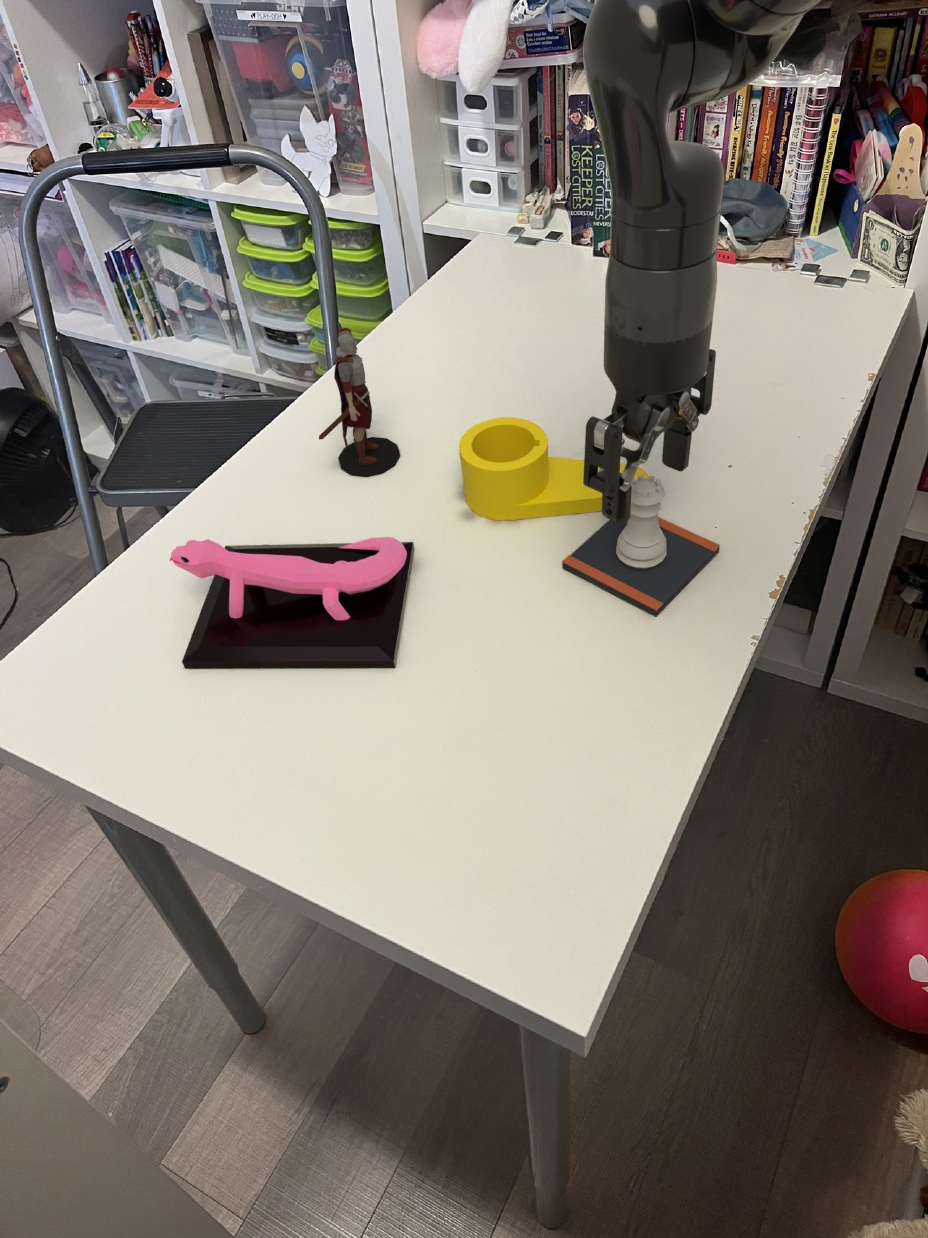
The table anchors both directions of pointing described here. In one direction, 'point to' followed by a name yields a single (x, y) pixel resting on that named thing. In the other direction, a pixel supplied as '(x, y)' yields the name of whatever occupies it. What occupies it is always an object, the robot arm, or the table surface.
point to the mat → (642, 585)
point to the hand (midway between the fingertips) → (646, 492)
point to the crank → (522, 473)
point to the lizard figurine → (298, 604)
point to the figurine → (358, 416)
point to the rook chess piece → (643, 526)
